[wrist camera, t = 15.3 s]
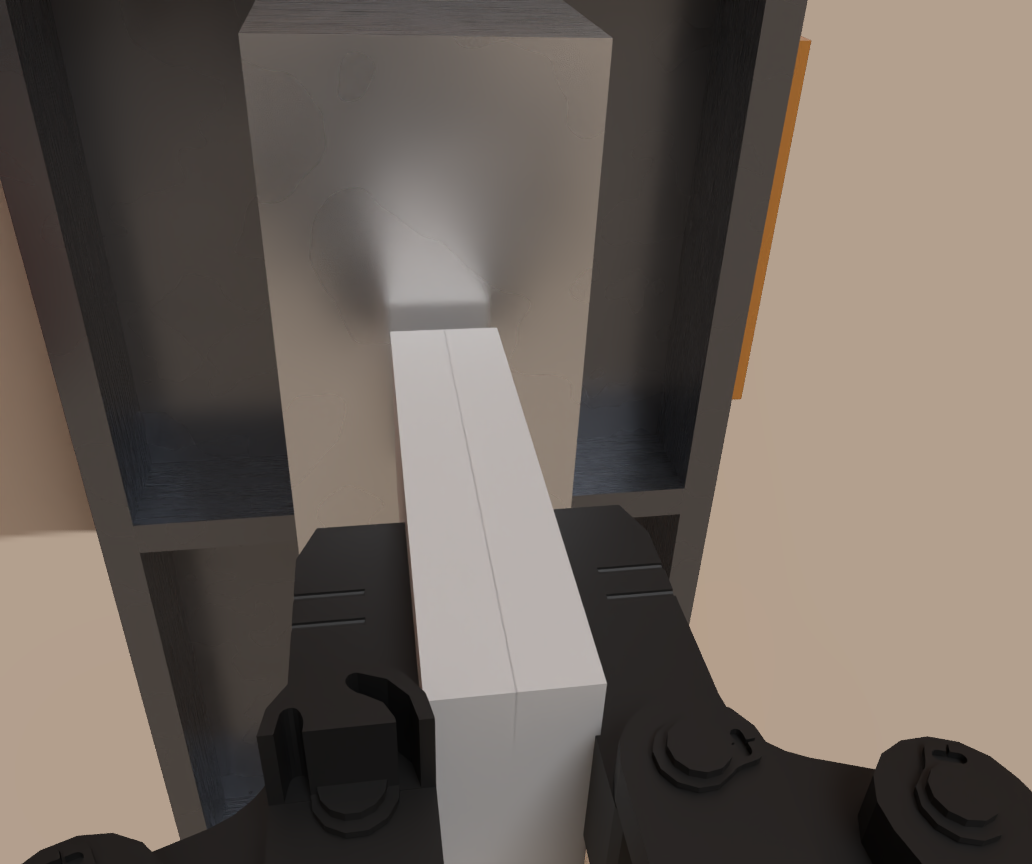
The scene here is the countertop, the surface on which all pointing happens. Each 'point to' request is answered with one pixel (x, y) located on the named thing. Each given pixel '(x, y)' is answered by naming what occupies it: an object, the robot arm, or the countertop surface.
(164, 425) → the tray
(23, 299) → the countertop surface
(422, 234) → the plain grey rectangular box
